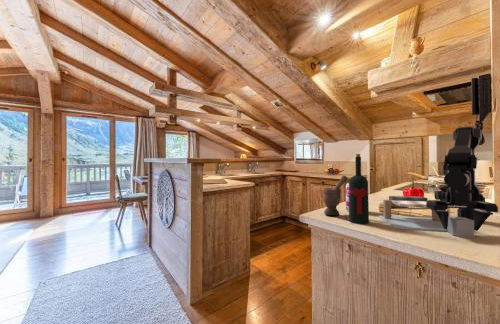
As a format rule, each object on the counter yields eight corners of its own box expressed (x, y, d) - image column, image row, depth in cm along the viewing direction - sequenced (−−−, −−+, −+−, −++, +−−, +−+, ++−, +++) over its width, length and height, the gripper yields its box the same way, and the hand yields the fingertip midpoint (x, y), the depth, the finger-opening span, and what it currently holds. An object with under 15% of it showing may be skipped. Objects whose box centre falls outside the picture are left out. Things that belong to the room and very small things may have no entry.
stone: (463, 233, 81) (463, 217, 81) (474, 237, 76) (474, 220, 76) (447, 232, 82) (447, 216, 82) (457, 236, 77) (456, 219, 77)
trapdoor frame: (434, 219, 100) (434, 199, 100) (465, 232, 82) (464, 208, 82) (379, 217, 105) (378, 198, 105) (395, 228, 87) (395, 205, 87)
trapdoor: (425, 204, 101) (425, 196, 101) (445, 211, 87) (445, 202, 87) (386, 203, 105) (386, 195, 105) (399, 209, 91) (399, 200, 91)
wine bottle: (349, 224, 93) (348, 153, 93) (348, 218, 102) (348, 154, 103) (370, 226, 90) (369, 153, 90) (367, 220, 99) (367, 154, 100)
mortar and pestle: (346, 213, 114) (346, 174, 114) (348, 217, 106) (348, 175, 106) (323, 211, 118) (322, 174, 118) (323, 215, 109) (322, 175, 110)
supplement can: (355, 213, 113) (355, 184, 113) (342, 210, 120) (342, 183, 120) (366, 212, 116) (366, 183, 116) (353, 209, 123) (353, 182, 124)
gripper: (474, 184, 85) (474, 225, 85) (418, 183, 89) (418, 222, 89) (499, 187, 74) (499, 234, 74) (434, 186, 78) (435, 230, 78)
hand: (460, 229), depth 79 cm, fingers open, 9 cm apart
